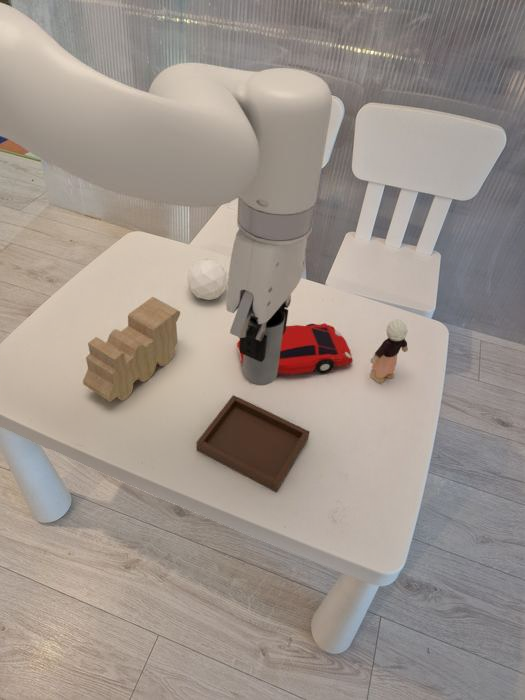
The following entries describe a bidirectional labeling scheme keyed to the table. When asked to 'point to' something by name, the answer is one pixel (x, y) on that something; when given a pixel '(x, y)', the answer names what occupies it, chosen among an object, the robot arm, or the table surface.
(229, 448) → the tray
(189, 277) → the geometric ball
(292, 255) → the robot arm
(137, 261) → the table surface
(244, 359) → the grey hollow cylinder
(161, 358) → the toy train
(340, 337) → the toy car
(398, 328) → the grandmother figurine
